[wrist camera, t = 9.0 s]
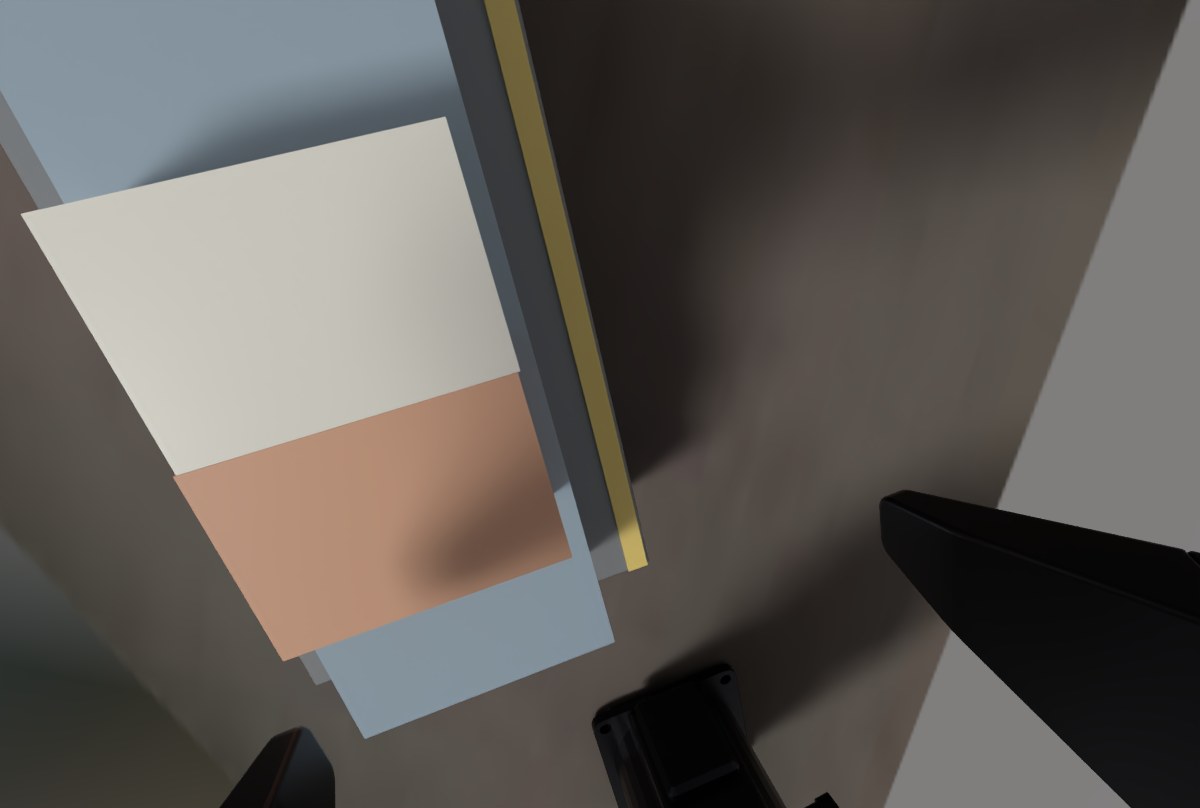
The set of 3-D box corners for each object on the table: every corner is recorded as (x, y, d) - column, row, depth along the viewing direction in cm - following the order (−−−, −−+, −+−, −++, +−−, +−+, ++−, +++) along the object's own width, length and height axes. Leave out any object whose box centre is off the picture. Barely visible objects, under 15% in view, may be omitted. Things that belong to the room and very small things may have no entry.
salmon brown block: (548, 497, 13) (572, 557, 11) (305, 579, 12) (283, 661, 10) (500, 336, 11) (517, 371, 9) (220, 418, 10) (172, 477, 8)
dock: (612, 497, 22) (650, 563, 18) (334, 594, 20) (315, 687, 17) (458, -115, 15) (470, -209, 11) (6, -38, 13) (-155, -118, 9)
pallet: (580, 558, 18) (614, 641, 15) (375, 632, 17) (364, 739, 14) (383, -121, 11) (369, -234, 8) (30, -64, 10) (-144, -166, 7)
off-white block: (502, 336, 11) (520, 371, 9) (223, 417, 10) (177, 475, 8) (440, 126, 10) (445, 116, 8) (108, 203, 9) (20, 214, 7)
